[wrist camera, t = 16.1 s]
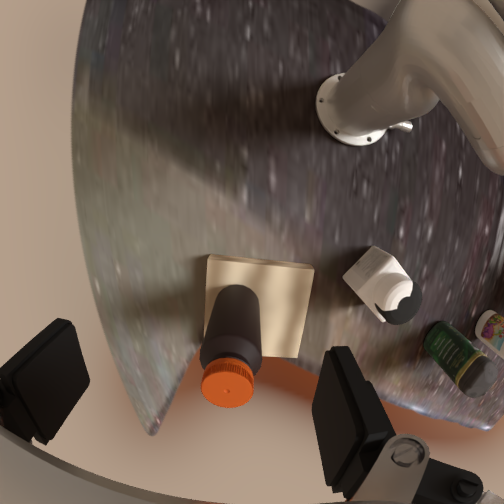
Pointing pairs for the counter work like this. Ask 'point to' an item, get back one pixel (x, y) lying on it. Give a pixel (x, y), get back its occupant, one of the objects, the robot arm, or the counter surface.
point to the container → (384, 287)
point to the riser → (266, 297)
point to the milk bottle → (491, 331)
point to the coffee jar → (460, 360)
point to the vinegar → (231, 347)
